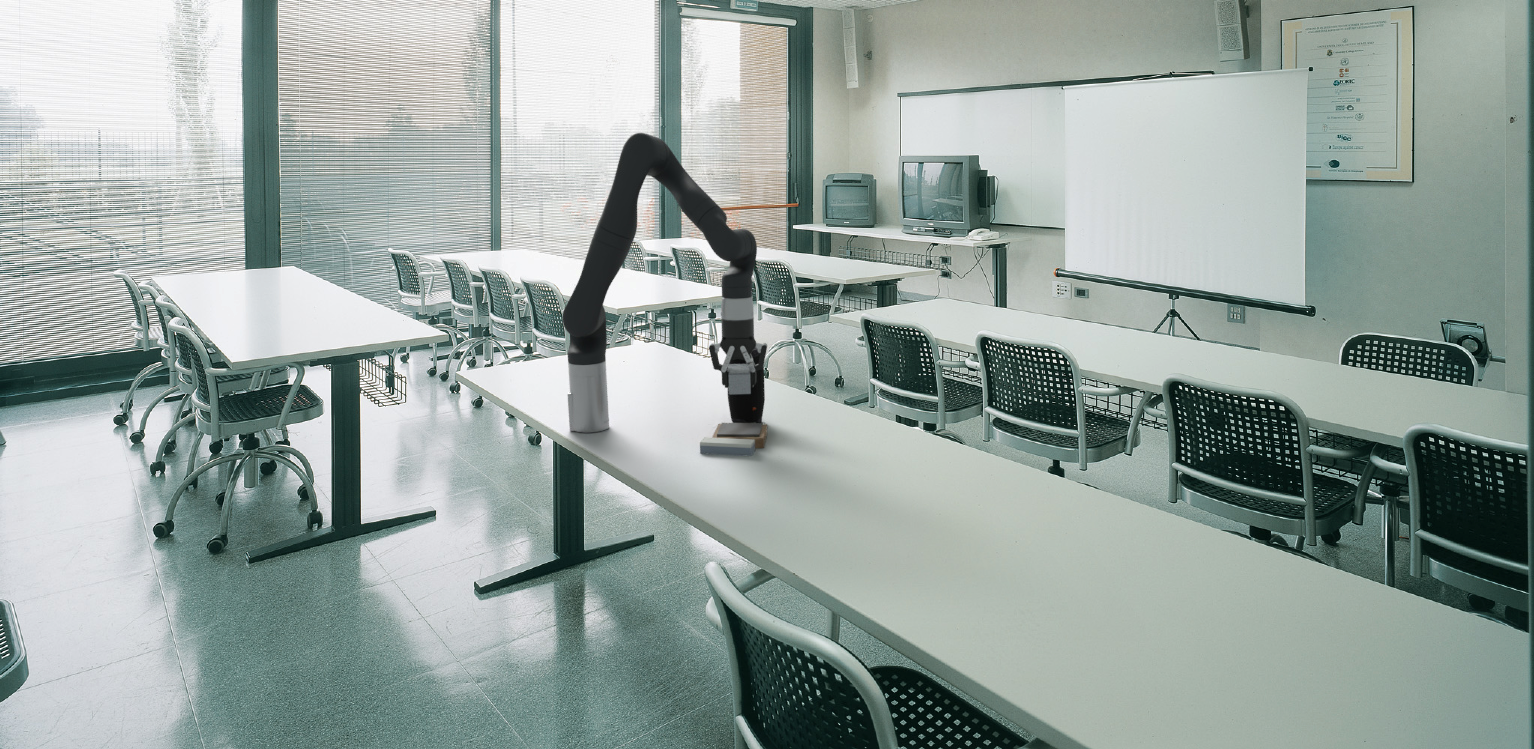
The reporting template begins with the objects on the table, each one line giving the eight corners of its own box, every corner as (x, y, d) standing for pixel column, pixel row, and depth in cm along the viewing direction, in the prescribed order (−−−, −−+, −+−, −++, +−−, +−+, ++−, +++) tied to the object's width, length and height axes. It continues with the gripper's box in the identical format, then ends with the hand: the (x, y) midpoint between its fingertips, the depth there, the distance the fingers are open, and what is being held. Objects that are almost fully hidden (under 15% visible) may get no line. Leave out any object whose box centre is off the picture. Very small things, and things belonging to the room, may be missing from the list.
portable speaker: (766, 426, 240) (765, 350, 236) (729, 427, 239) (727, 351, 235) (763, 417, 248) (762, 343, 244) (727, 418, 248) (725, 345, 243)
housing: (728, 384, 230) (727, 364, 229) (749, 383, 231) (748, 363, 229) (729, 394, 221) (728, 373, 219) (750, 393, 221) (750, 372, 220)
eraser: (700, 454, 219) (699, 442, 218) (705, 449, 223) (704, 437, 222) (751, 457, 216) (750, 444, 216) (755, 452, 220) (754, 439, 220)
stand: (712, 447, 223) (711, 435, 222) (718, 433, 234) (718, 421, 234) (763, 448, 222) (763, 435, 221) (767, 433, 234) (767, 421, 233)
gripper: (769, 313, 225) (770, 383, 229) (708, 313, 226) (711, 383, 230) (767, 318, 218) (768, 390, 221) (704, 319, 219) (706, 390, 222)
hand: (739, 386), depth 225 cm, fingers closed on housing, 5 cm apart
